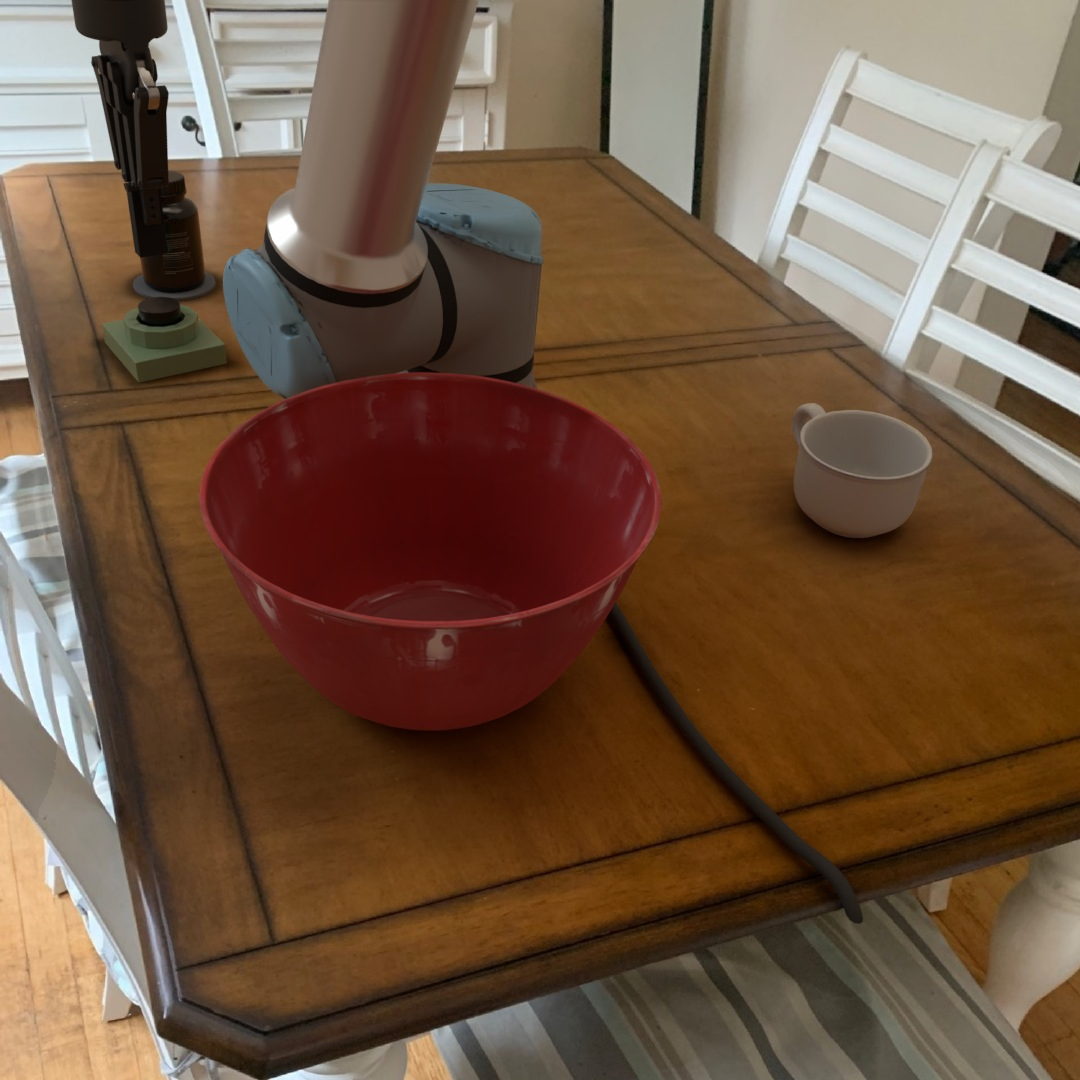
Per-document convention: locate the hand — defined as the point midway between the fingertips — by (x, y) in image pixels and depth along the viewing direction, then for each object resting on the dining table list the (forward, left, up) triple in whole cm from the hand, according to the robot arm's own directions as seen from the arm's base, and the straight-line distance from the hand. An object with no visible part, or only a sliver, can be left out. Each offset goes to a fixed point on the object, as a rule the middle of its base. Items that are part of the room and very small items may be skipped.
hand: (151, 252), depth 109 cm
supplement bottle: (+16, -7, -10) cm, 20 cm away
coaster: (+16, -7, -11) cm, 20 cm away
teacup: (-55, -40, -11) cm, 69 cm away
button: (0, 0, -7) cm, 7 cm away
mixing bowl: (-54, +1, -11) cm, 55 cm away
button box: (0, 0, -11) cm, 11 cm away
